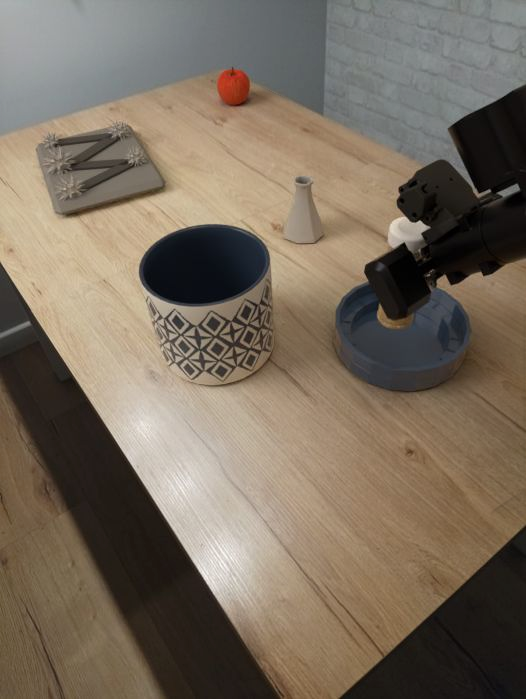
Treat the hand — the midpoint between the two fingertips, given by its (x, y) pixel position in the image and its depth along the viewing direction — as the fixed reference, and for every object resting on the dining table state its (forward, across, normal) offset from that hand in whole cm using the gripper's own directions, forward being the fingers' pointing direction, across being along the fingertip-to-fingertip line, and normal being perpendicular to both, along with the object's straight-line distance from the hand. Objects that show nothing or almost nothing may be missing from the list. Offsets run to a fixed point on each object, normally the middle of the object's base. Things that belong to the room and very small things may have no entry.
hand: (394, 271), depth 60 cm
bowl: (+9, -2, +10) cm, 14 cm away
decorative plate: (+60, +7, -42) cm, 74 cm away
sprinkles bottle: (+4, 0, +6) cm, 7 cm away
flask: (+29, -10, -10) cm, 32 cm away
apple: (+66, -34, -48) cm, 88 cm away
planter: (+20, +16, -2) cm, 26 cm away
